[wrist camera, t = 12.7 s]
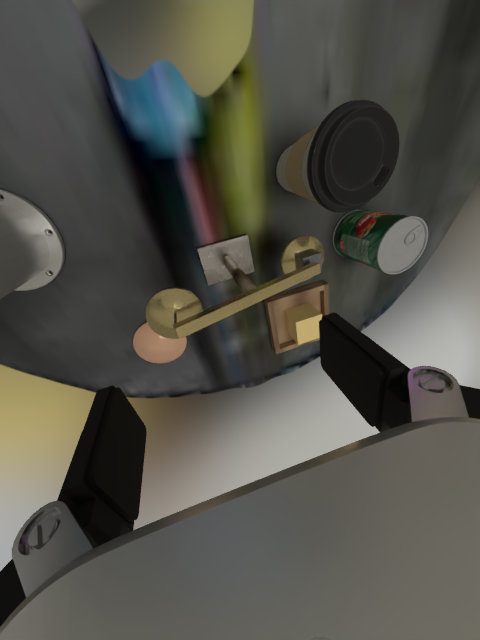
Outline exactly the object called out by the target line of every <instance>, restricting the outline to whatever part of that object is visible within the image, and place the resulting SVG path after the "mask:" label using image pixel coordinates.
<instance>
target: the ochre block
mask: <svg viewBox="0 0 480 640" xmlns="http://www.w3.org/2000/svg"><path fill="white" fill-rule="evenodd" d="M284 312H285V319H286V327H287V332H288V333H289V334H290V336H291V337H292V338H293V339H294V340H295V342H296V343H297V344H298V345H300V344H303V343H306V342H309V341H312V340H314V339H317V338H320V337H319V321H320V320H321V319H322V314H321V313H320V312H319V311H318V310H317V309H316V308H314V307H313V306H312V305H311V304H310V303H305V304H302V305H299V306H296V307H292V308H289V309H286V310H284Z"/></svg>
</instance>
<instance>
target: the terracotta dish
mask: <svg viewBox="0 0 480 640" xmlns="http://www.w3.org/2000/svg"><path fill="white" fill-rule="evenodd" d="M186 343H187V340H186V337H184V338H181V339H170V338H165V337H162V336H160V335H158V334H157V333H155V332H154V331H153V330H152V329H151V328H150V326H149V325H148V323H147V322H145V323H144V324H142V325H141V326H140V327H139V328H138V329H137V331H136V332H135V335H134V339H133V345H134V349H135V351H136V352H137V354H138V355H139V356H140V357H141V358H143V359H145V360H147V361H149V362H153V363H166V362H170V361H173V360H175V359H176V358H178V357H179V356H180V355H181V354H182V353H183V352H184V350H185V348H186Z"/></svg>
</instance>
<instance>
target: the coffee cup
mask: <svg viewBox="0 0 480 640" xmlns="http://www.w3.org/2000/svg"><path fill="white" fill-rule="evenodd" d="M398 153H399V133H398V129H397V126H396V123H395V121H394V119H393V118H392V116H391V115H390V114H389V113H388V112H387V111H386V110H384V109H383V108H382V107H381V106H380V105H378V104H377V103H375V102H372V101H369V100H355V101H350V102H347V103H344V104H342V105H340V106H339V107H337V108H336V109H334V110H333V111H332V112H331V113H330V114H329V115H328V116H327V117H326V118H325V119H324V120H323V122H322V123H321V125H319V126H318V127H316V128H315V129H313V130H312V131H310V132H308V133H307V134H305V135H304V136H302V137H301V138H300V139H299V140H298V141H297V142H296V143H294V144H293V145H291V146H290V147H288V148H287V149H286V150H285V151H284V152H283V153H282V155H281V156H280V158H279V161H278V163H277V168H276V176H277V180H278V182H279V184H280V185H281V186H282V187H283V188H284V189H285V190H287V191H289V192H292V193H295V194H297V195H299V196H301V197H303V198H306V199H309V200H312V201H315V202H318V203H319V204H320V205H321V206H323V207H324V208H326V209H328V210H330V211H333V212H346V211H351V210H355V209H357V208H359V207H361V206H363V205H365V204H366V203H367V202H369V201H370V200H371V199H372V198H374V197H375V196H376V195H377V194H378V193H379V192H380V191H381V190H382V189H383V188H384V186H385V185H386V184H387V182H388V181H389V179H390V177H391V175H392V173H393V171H394V168H395V166H396V162H397V159H398Z"/></svg>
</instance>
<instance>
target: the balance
mask: <svg viewBox="0 0 480 640" xmlns="http://www.w3.org/2000/svg"><path fill="white" fill-rule="evenodd" d="M197 250H198V254H199V257H200V260H201V263H202V267H203V270H204V273H205V277H206V280H207V283H208V285H211V284H214V283H218V282H221V281H224V280H228V279H231V278H233V279H234V280H235V282H236V283H237V285H238V286H239V287H240V289H241V290H242V292H243V293H242V294H240V295H238V296H236V297H233V298H231V299H229V300H227V301H224V302H222V303H220V304H218V305H215V306H213V307H211V308H209V309H206V310H204V311H203V309H202V305H201V302H200V301H199V299H198V298H197V296H196V295H195V294H193V293H192V292H191V291H189V290H187V289H184V288H180V287H169V288H165V289H162V290H160V291H158V292H157V293H155V294H154V295H153V296H152V297H151V298H150V300H149V302H148V304H147V307H146V320H147V323H148V325H149V326H150V328H151V329H152V330H153V331H154V332H155V333H157V334H158V335H160V336H162V337H165V338H170V339H181V338H184V337H186V336H189V335H191V334H192V333H194V332H196V331H198V330H200V329H202V328H204V327H206V326H208V325H211V324H213V323H215V322H217V321H219V320H221V319H223V318H225V317H228V316H230V315H232V314H234V313H236V312H238V311H240V310H243V309H245V308H247V307H249V306H251V305H253V304H255V303H257V302H260V301H262V300H264V299H266V298H268V297H270V296H272V295H274V294H277V293H279V292H281V291H283V290H285V289H287V288H289V287H291V286H294V285H296V284H298V283H300V282H302V281H306V280H308V279H310V278H312V277H313V276H315V275H317V274H319V273H320V272H321V271H322V264H323V261H324V248H323V246H322V244H321V242H320V241H319V240H318V239H316V238H314V237H312V236H308V235H302V236H298V237H296V238H294V239H293V240H291V241H290V242H289V243H288V244H287V245H286V247H285V248H284V250H283V252H282V255H281V269H282V271H283V273H284V274H285V275H283V276H281V277H278V278H276V279H274V280H272V281H269V282H267V283H265V284H263V285H260V286H258V287H256V286H255V285H254V283H253V282H252V281H251V280H250V279H249V278H248V276H247V275H246V274H248V273H251V272H255V271H254V266H253V261H252V255H251V250H250V245H249V239H248V235H247V234H243V235H239V236H236V237H232V238H229V239H225V240H222V241H218V242H214V243H211V244H207V245H204V246H200V247H197Z"/></svg>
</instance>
